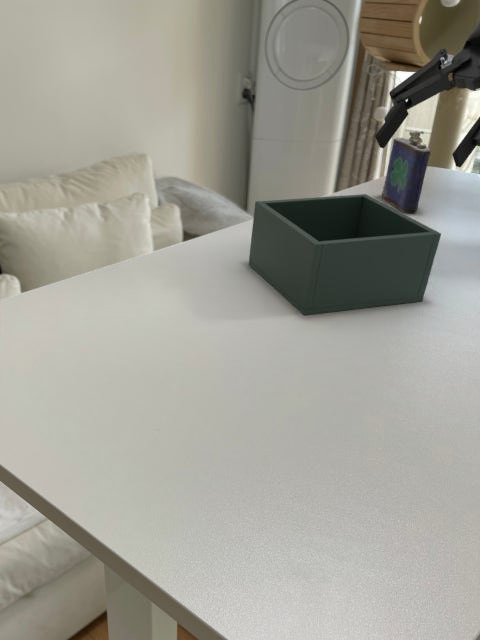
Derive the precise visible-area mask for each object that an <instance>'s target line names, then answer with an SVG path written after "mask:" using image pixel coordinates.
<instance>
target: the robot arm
mask: <svg viewBox="0 0 480 640" xmlns="http://www.w3.org/2000/svg"><path fill="white" fill-rule="evenodd" d="M449 75H451V78H452V79H451V80H450V79H449ZM455 88H456V89H461V90H463V89H467V90H470V91H473V92H476V91H477V90H480V21H478V23H477V24H476V26H475V27H474V29H473V30H472V31H471V32H470V34H469V35H468V37H467V38H466V41H465V43H464V45H463V47H462V49H461V51H459V52H458V53H456V54H454V55H453V54H449V53H448V51H447V49H446V48H441V49H440V50H439V51H437V53H436V54H435V56H433V58H432V59H431V60H429V61H428V62H427V63H426V64H424V65H423V66H421V67H420V68H419V69H418V70H416V71H415V72H414V73H412V74H411V75H410V76H408V77H406V79H404V80H403V81H402V82H400V83H398V85H396V86H395V87H394V88H392V89H391V90H390V91H389V93H388V94H389V97H390V100H391V103H392V106H391V108H390V109H389V111H387V113H386V115H385V116H384V118H383V121H384V123H383V124H382V126H381V127H380V128H379V129H378V131H377V132H376V134H375V135H374V137H375V140H376V142H377V144H378V146H379V148H381V149H385V147H386V146H387V145H388V143H389V142H390V141H391V139H392V138H393V137H394V135H395V134H396V132H397V131H398V129H400V127H401V126H402V124H403V123H404V121H405V120H406V119H407V117H408V116H409V111H408V110H410V109H412V108H413V107H416V106H418V105H420V104H421V103H423V102H425V101H427V100H428V99H430V98H431V99H432V98H433V97H434V96H436V95H438V94H440V93H442V92H444V91H446V92H448V91H451V90H453V89H455ZM476 147H480V116H478V118H477V119H476V121H475V122H474V124H473V125H472V126H471V128H470V129H469V130H468V132H467V134H465V136H464V137H463V139H462V140H461V141H460V142H459V144H458V145H457V147H456V148H455V149H454V151H453V152H452V154H451V155H452V159H453V161H454V165H455V167H456V168H457V167H458V168H461V167H463V165H464V163H465V162H466V161H467V159H468V158H469V157H470V155H471V154H472V153H473V152H474V150H475V149H476Z"/></svg>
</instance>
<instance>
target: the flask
mask: <svg viewBox="0 0 480 640" xmlns="http://www.w3.org/2000/svg"><path fill="white" fill-rule="evenodd" d="M424 134H425V132H424V131H423V130H421V131H417V130H416V131H409V136H410V137H409V138H404V137H396V138H393V141H392V147H391V152H390V156H389V162H388V165H387V172H386V174H385V179H384V184H383V188H382V192H381V199H383V200H384V201H386V202H387V203H389V204H390V205H392V206H394V207H395V208H398V210H399V211H400V212H401V213H406V214H411V215H412V214H417V212H418V207H419V202H420V198H421V194H422V190H423V184H424V180H425V175H426V173H427V168H428V164H429V160H430V157H431V152H432V151H431V149H430V148H428V147H427V144H425V143H423V139H422V138H421V137H420V136H421V135H424Z"/></svg>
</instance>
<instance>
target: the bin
mask: <svg viewBox="0 0 480 640" xmlns="http://www.w3.org/2000/svg"><path fill="white" fill-rule="evenodd" d="M253 211H254V212H253V220H252V229H251V239H250V248H249V257H248V266H249V267H251V268H252V269H253V270H254V271H255V272H256V273H257V274H259V276H260V277H261V278H263V279H264V281H266V282H267V283H268V284H269V285H270V286H272V287H273V288H274V289H275V290H276V291H277V292H278V293H279V294H280V295H281V296H283V298H284V299H286V301H288V302H289V303H290V304H291V305H292V306H293V307H294V308H295V309H296V310H298V311H299V312H300V313H301V314H302V315H303V316H308V315H316V314H317V315H318V314H323V313H324V314H325V313H333V312H334V313H335V312H341V311H351V310H358V309H368V308H377V307H385V306H392V305H393V306H394V305H403V304H409V303H420V302H423V300H424V297H425V293H426V290H427V287H428V282H429V279H430V276H431V272H432V269H433V265H434V261H435V258H436V254H437V251H438V246H439V243H440V240H441V236H442V233H441V232H439V231H437V230H435V229H433V228H431V227H430V226H428V225H426V224H424V223H422V222H420V221H417V220H416V219H415V218H412V217H410V216H409V215H407V214H404V212H401V211H400V210H397V209H395V208H393V207H391V206H390V205H388V204H385V203H384V202H381V201H380V200H378V199H376V198H374V197H372V196H370V195H368V194H366V193H363V194H362V193H361V194H349V195H348V194H347V195H334V196H331V195H330V196H319V197H317V196H316V197H304V198H289V199H275V200H274V199H273V200H257V201H255V203H254V210H253Z"/></svg>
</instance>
